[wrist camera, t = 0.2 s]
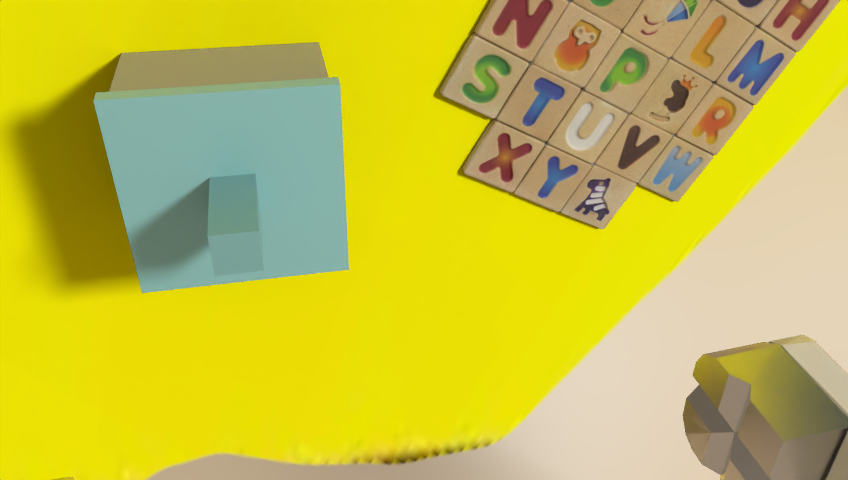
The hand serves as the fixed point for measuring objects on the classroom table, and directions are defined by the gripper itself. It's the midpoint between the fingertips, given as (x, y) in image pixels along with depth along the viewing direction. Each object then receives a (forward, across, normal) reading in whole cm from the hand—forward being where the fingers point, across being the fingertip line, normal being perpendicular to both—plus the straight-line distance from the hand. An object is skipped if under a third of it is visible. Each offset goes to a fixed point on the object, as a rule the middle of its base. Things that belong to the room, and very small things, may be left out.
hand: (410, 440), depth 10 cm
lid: (+40, +4, +18) cm, 44 cm away
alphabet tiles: (+48, -30, +14) cm, 58 cm away
